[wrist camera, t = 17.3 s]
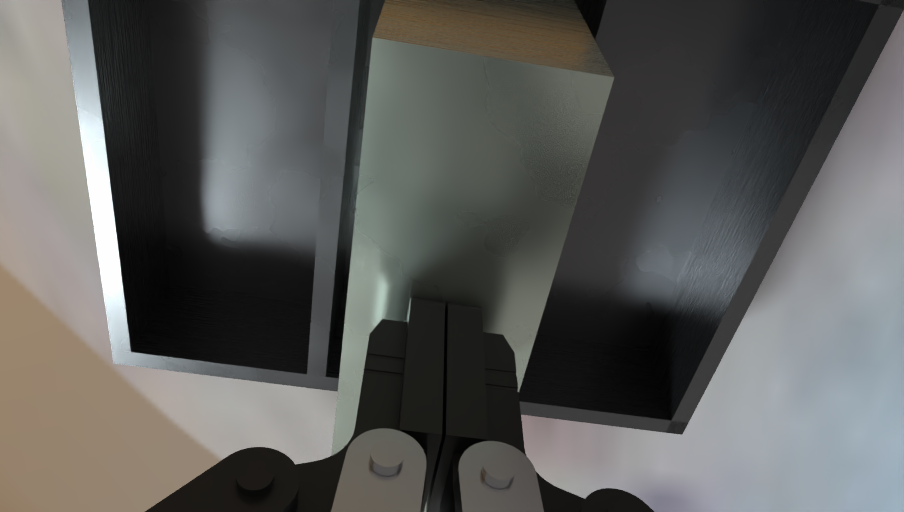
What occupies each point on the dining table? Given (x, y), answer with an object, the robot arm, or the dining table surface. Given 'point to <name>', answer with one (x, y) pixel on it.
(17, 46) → the dining table surface
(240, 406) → the dining table surface
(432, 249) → the grey-green rectangular block
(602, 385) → the rack
